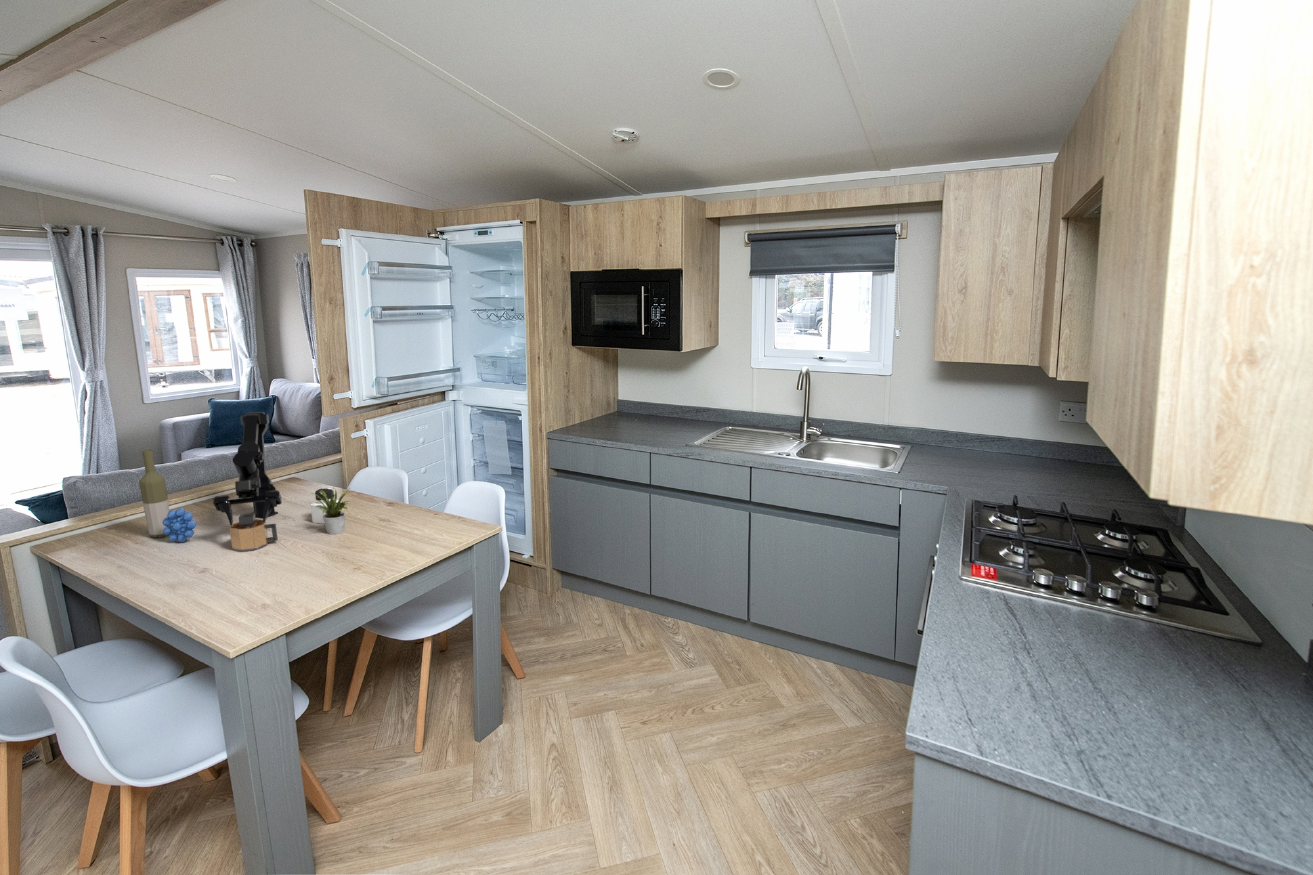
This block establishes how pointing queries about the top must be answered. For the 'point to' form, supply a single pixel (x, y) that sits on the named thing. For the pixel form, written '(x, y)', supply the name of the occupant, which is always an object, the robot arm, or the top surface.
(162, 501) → the bottle
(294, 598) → the top surface
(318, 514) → the medicine bottle
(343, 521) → the house plant
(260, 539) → the octagonal wooden mug
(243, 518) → the grey cube on disc
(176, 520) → the grapes
